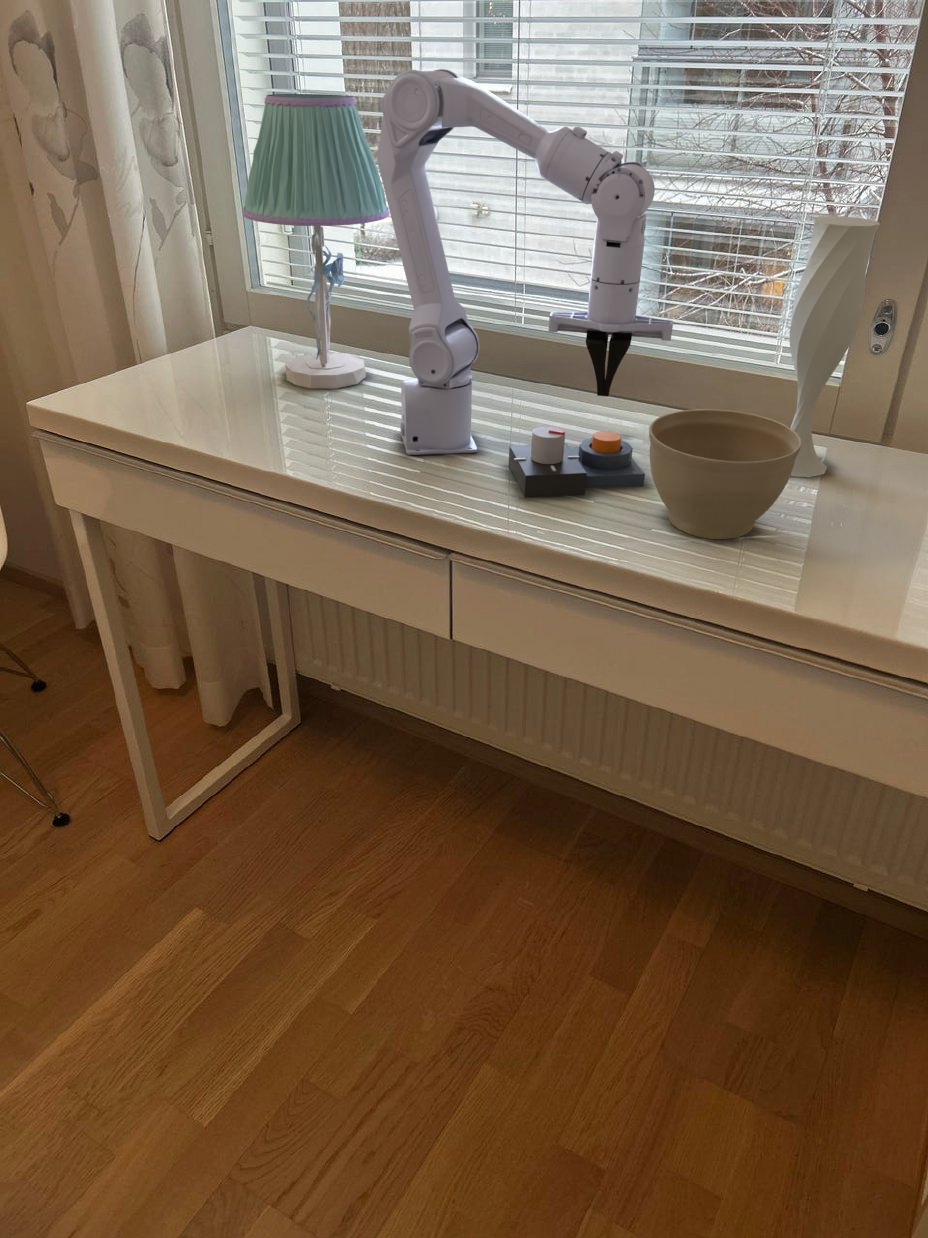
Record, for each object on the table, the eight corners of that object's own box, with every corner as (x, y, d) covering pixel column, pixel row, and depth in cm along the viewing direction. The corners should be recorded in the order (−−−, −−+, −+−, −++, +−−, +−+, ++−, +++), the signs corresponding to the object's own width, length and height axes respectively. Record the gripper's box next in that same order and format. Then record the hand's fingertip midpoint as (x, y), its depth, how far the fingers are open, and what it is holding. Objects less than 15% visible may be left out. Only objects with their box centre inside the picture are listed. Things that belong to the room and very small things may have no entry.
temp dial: (526, 461, 115) (528, 432, 113) (536, 450, 118) (538, 422, 116) (558, 466, 114) (560, 437, 112) (566, 455, 117) (569, 426, 115)
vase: (791, 481, 119) (846, 228, 104) (746, 458, 125) (791, 217, 110) (841, 470, 123) (902, 224, 107) (794, 448, 129) (845, 213, 113)
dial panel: (587, 495, 114) (589, 471, 112) (521, 498, 113) (522, 474, 111) (567, 464, 122) (569, 441, 121) (505, 467, 121) (506, 444, 120)
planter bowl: (634, 490, 115) (645, 405, 110) (768, 498, 114) (786, 412, 109) (642, 550, 102) (655, 455, 96) (794, 559, 101) (816, 464, 95)
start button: (623, 453, 117) (625, 440, 117) (595, 454, 117) (597, 441, 116) (615, 443, 121) (616, 430, 120) (588, 444, 120) (589, 431, 119)
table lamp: (387, 399, 143) (380, 101, 123) (245, 396, 143) (214, 97, 123) (397, 359, 162) (393, 94, 141) (272, 356, 162) (249, 90, 141)
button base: (643, 486, 117) (647, 460, 115) (585, 489, 116) (587, 462, 114) (620, 456, 125) (622, 431, 123) (565, 458, 124) (567, 433, 122)
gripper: (549, 282, 107) (541, 398, 114) (678, 290, 104) (661, 409, 112) (556, 270, 113) (548, 381, 120) (678, 278, 110) (663, 391, 117)
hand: (603, 393), depth 116 cm, fingers closed
